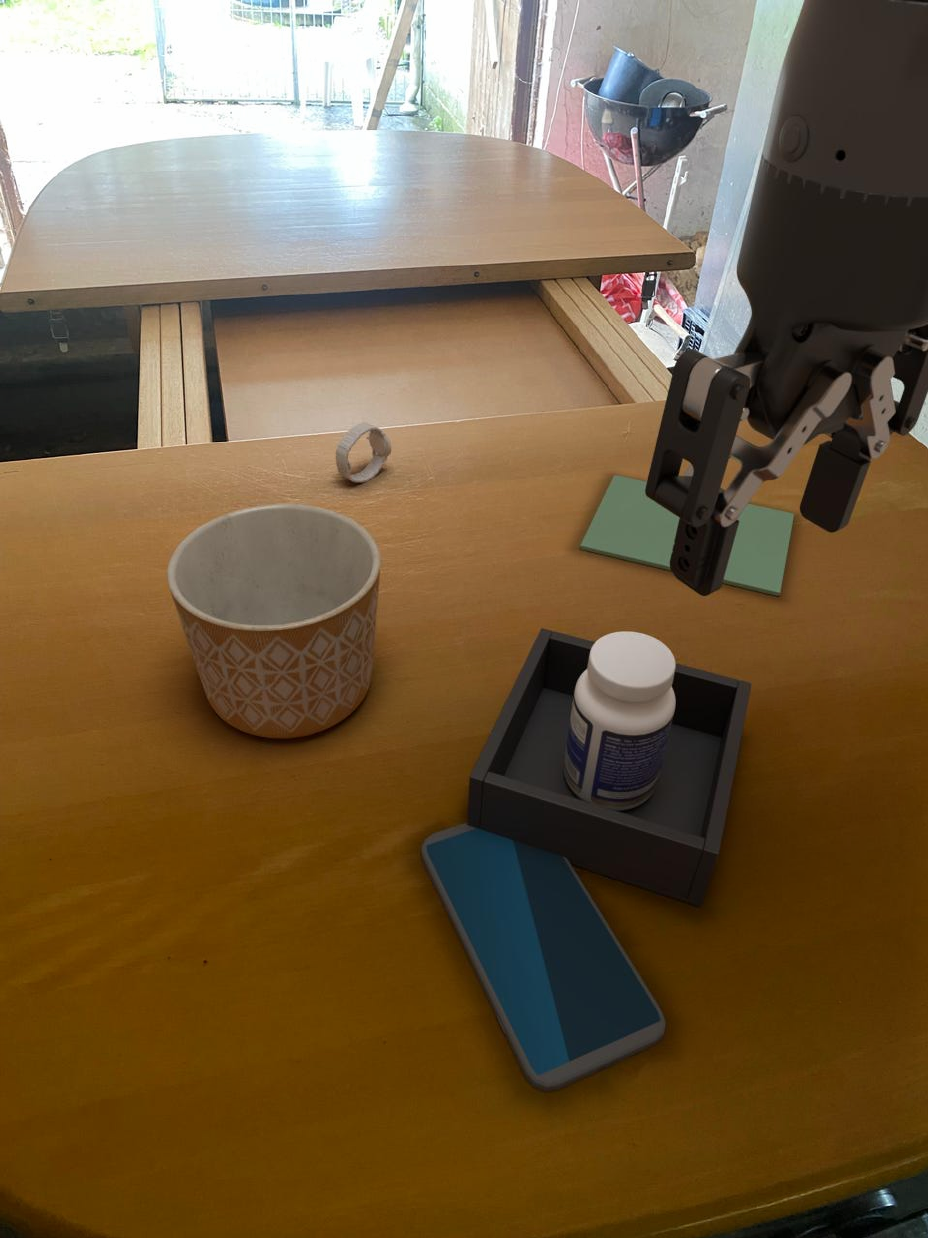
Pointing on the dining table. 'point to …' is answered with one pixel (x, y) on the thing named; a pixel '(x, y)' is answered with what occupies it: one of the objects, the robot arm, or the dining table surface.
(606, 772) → the pill bottle
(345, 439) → the wristwatch
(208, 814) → the dining table surface
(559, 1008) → the smartphone
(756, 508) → the mat
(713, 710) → the black box
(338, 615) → the planter
